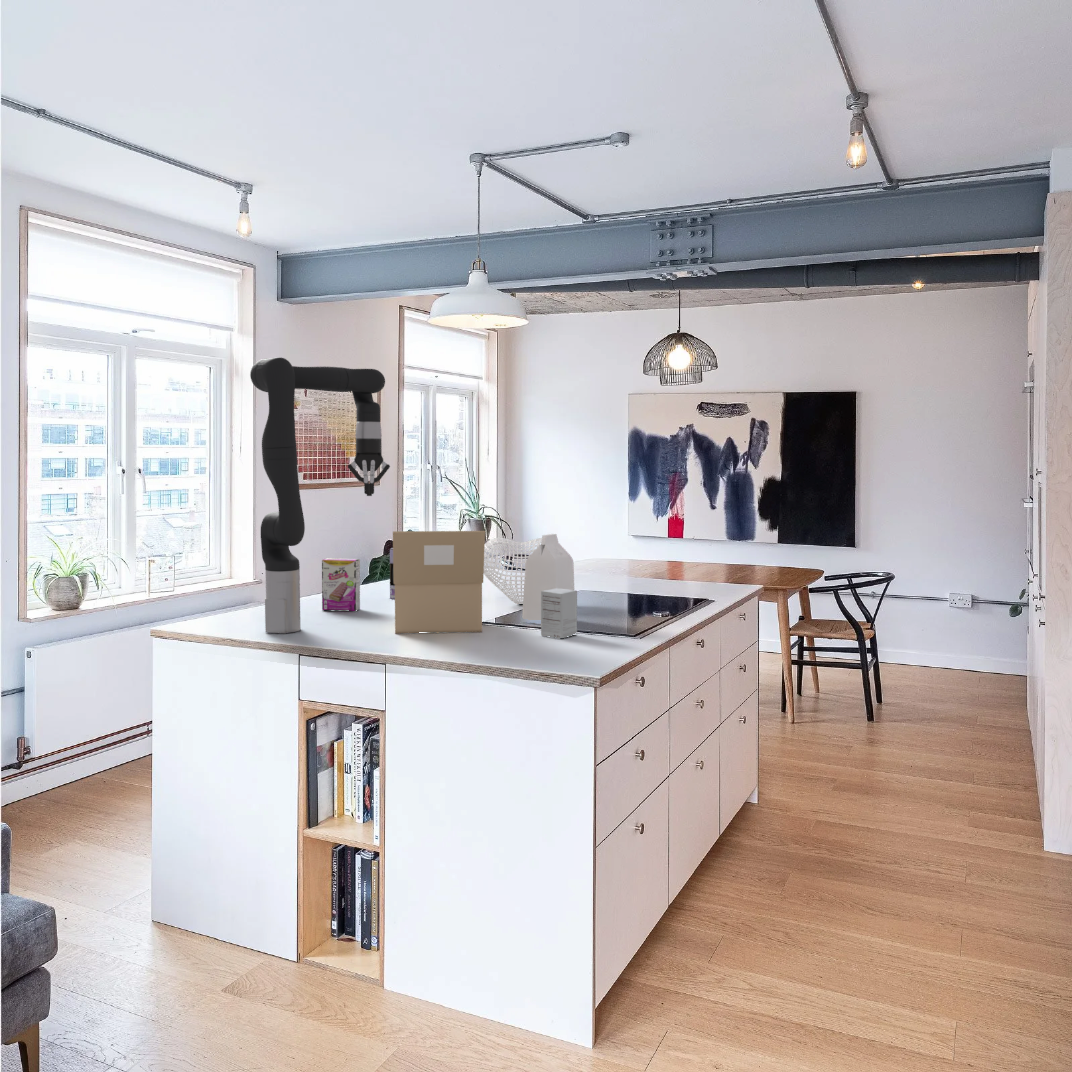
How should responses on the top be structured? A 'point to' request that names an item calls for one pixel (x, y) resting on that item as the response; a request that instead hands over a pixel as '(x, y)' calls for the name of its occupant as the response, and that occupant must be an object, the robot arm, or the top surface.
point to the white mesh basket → (502, 540)
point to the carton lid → (438, 557)
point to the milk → (546, 574)
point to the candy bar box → (340, 584)
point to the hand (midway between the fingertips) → (369, 495)
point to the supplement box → (558, 612)
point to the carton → (438, 607)
